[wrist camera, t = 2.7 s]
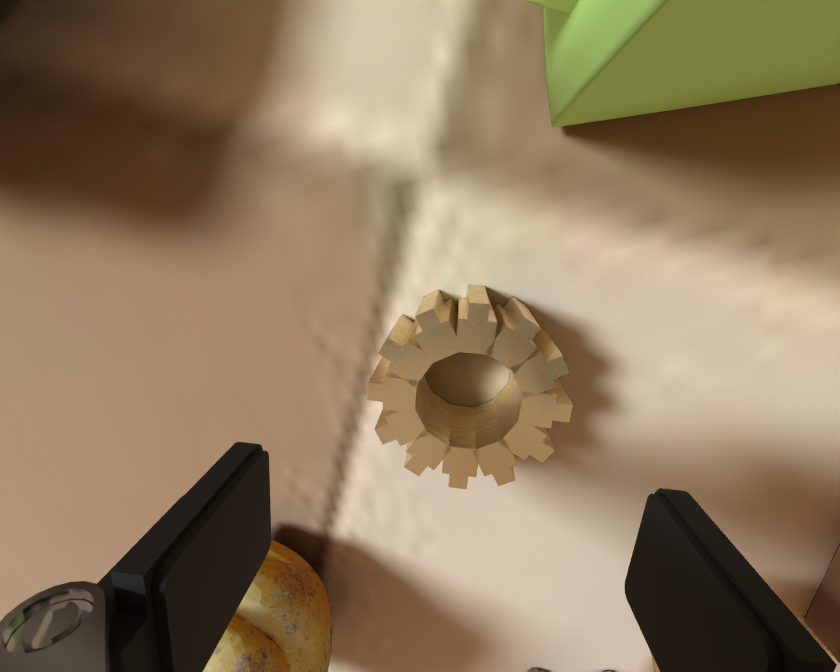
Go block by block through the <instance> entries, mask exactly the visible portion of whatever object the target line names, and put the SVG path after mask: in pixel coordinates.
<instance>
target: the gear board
mask: <svg viewBox="0 0 840 672" xmlns="http://www.w3.org/2000/svg"><path fill="white" fill-rule="evenodd" d="M804 621H805V622H806V623H807V625H808V626H809V627H810V628H811V629H812V631H813V632H814V633H815V634H816V635H817V637H818V638H819V639H820V640H821V641H822V643H823V644H824V645H825V646H826V647H827V649H828V650H829V651H830V652H831V653H832V655H833V656H834V657H835V658H836V659H837V661H838V662H840V545H839V547H838V549H837V551H836V553H835V556H834V558H833V560H832V562H831V564H830V566H829V568H828V570H827V573H826V575H825V577H824V579H823V581H822V583H821V585H820V587H819V590H818V592H817V594H816V596H815V598H814V600H813V602H812V605H811V607H810V609H809V611H808V613H807V615H806V617H805V619H804Z"/></svg>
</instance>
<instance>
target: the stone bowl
mask: <svg viewBox="0 0 840 672" xmlns="http://www.w3.org/2000/svg"><path fill="white" fill-rule="evenodd" d="M15 2H16V0H0V22H1V21H2V20H3V19H4V18H5V17H6V16H7V15H8V14H9V13H10V12H11V10H12V8H13V6H14V4H15Z"/></svg>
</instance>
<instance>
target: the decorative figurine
mask: <svg viewBox="0 0 840 672" xmlns="http://www.w3.org/2000/svg"><path fill="white" fill-rule="evenodd" d="M329 602H330V599H329V598H328V595H327V592H326V589H325V586H324V584H323V583H322V581H321V579H320V577H319V576H318V574H317V573H316V571H315V570H314V569H313V568H312V567H311V566H310V565H309V564H308V563H307V561H305V560H304V559H303V558H302V557H301V556H300V555H299V554H297V553H296V552H294V551H293V550H292V549H290V548H288V547H286V546H285V545H282V544H280V543H278V542H276V541H274V540H272V539H271V544H270V548H269V551H268V554H267V556H266V558H265V560H264V562H263V563H262V565H261V567H260V569H259V571H258V572H257V574H256V576H255V578H254V580H253V581H252V583H251V585H250V587H249V589H248V591H247V592H246V594H245V596H244V598H243V600H242V601H241V603H240V605H239V607H238V609H237V611H236V612H235V614H234V616H233V618H232V620H231V621H230V623H229V625H228V627H227V629H226V630H225V632H224V634H223V636H222V638H221V640H220V641H219V643H218V645H217V647H216V649H215V650H214V652H213V654H212V656H211V658H210V660H209V661H208V663H207V665H206V667H205V669H204V670H203V672H328V667H329V662H330V655H331V647H332V623H331V612H330V603H329Z"/></svg>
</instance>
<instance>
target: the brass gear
mask: <svg viewBox="0 0 840 672" xmlns="http://www.w3.org/2000/svg"><path fill="white" fill-rule="evenodd" d="M415 317H416V319H415V321H414V322H413V321H411V320H410V319H408V318H407V317H406V316H404V315H403V314H402V315H401V317H400V318H399V320H398V321H397V323H396V324H395V325H394V327H393V329H392V330H391V332H390V334H389V335H388V337H387V339H386V341H385V342H384V344H383V346H382V347H381V349H380V351H379V354H380V355H382V358H381V360H380V362H379V364H378V366H377V367H376V369H375V371H374V373H373V375H372V377H371V378H370V380H369V382H368V399H367V400H372V401H381V402H383V410H382V412H381V415H380V417H379V420H378V422H377V425H376V427H375V431H376V433H377V435H378V436H379V438H380V440H381V442H382V444H385V443H388V442H390V441H393V440H396V439H397V441H398V442H399V444H400V446H401V445H404V444H406V443H408V445H407V449H406V452H407V456H406V460H405V464H404V467H405V468H407V469H408V470H410V471H412V472H413V473H415V474H416V475H418V476H419V475H420V474H421V473H422V472H423V471H424V469H425V468H426V467H427V466H429V467H430V468H432V469H433V470H434V469H435V468H436V467H437V466H438V465H439V464H440V462H441V461H442V460H443V467H442V473H447V474H449V487H453V488H461V489H467V481H468V476H471V477H476V475H477V467H478V464H479V466H480V468H481V470H482V472H483V474H484V476H487V475H490V474H493V476H494V478H495V480H496V482H497V484H498V486H500V485H503V484H506V483H509V482H512V481H515V475H514V470H513V466H516V465H517V462H516V457H515V455H517V456H518V457H520V458H521V459H523V460H525V459H526V458H527V457H528V456H529V455H531V456H532V457H534V458H535V459H537V460H538V461H540V462H541V463H543V462H544V461H545V460H546V459H547V458H548V457H549V456H550V455H551V454H552V453H553V452H554V451H555V450H554V447H553V445H552V442H551V440H550V437H549V434H548V432H547V429H546V428H551V426H552V421H559V422H568V423H569V422H570V418H571V413H572V408H573V404H572V402H571V401H570V399H569V397H568V395H567V394H566V392H565V390H564V388H563V387H562V385H561V383H560V381H559V380H558V377H561V376H563V375H566V374H569V373H570V372H569V369H568V367H567V364H566V362H565V360H564V357H563V355H562V354H561V352H560V351H559V349H558V348H557V346H556V345H555V344H554V342H553V341H552V339H551V338H550V336H549V335H548V333H547V332H546V331H545V329H544V328H542V329H541V328H540V326H539V325H538V323H537V322H536V320H535V319H534V317H533V316H532V314H531V313H530V311H529V310H528V308H527V307H526V306H525V305H524V304H523V303H521V302H520V301H518V300H517V299H516V298H514V297H513V296H512V298H511V299H510V300H509V301H508V303H507V304H506V305H505V307H504V308H503V307H502V306H500V305H499V304H497V305H496V306H495V308H494V309H493V308H492V305H491V302H490V301H489V299H488V296H487V292H486V289H485V286H478V285H468V288H467V297H466V299H465V298H459V303H458V312H457V310H456V308H455V306H454V304H453V302H452V300H448V301H446V302H444V300H443V298H442V295H441V293H440V291H439V290H437V291H434V292H432V293H430V294H428V295H426V296H424V297H423V299H422V302H421V304H420V306H419V308H418V311H417V313H416V315H415ZM458 352H464V353H474V354H484V355H489V356H490V357H492V358H493V359H495V360H496V361H498V362H499V363H501V364H502V365H504V366H505V367H506V368H508V369H509V370H510V374H509V380H508V383H507V385H506V386H505V387H504V388H503V389H502V391H501V392H500V393H499V394H498V395H497V397H496V398H495V399H494V400H491V401H489V402H486V403H483V404H481V405H478V406H475V407H466V406H457V405H451V404H449V403H448V402H446V401H445V400H443V399H442V398H440V397H439V396H437V395H436V394H434V393H433V392H432V390H431V388H430V386H429V384H428V382H427V380H426V378H425V376H424V374H425V373H426V371H427V370H428V369H429V367H430V366H431V365H432V364H433V363H434V362H436V361H439V360H441V359H444V358H446V357H448V356H451V355H453V354H456V353H458Z"/></svg>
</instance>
